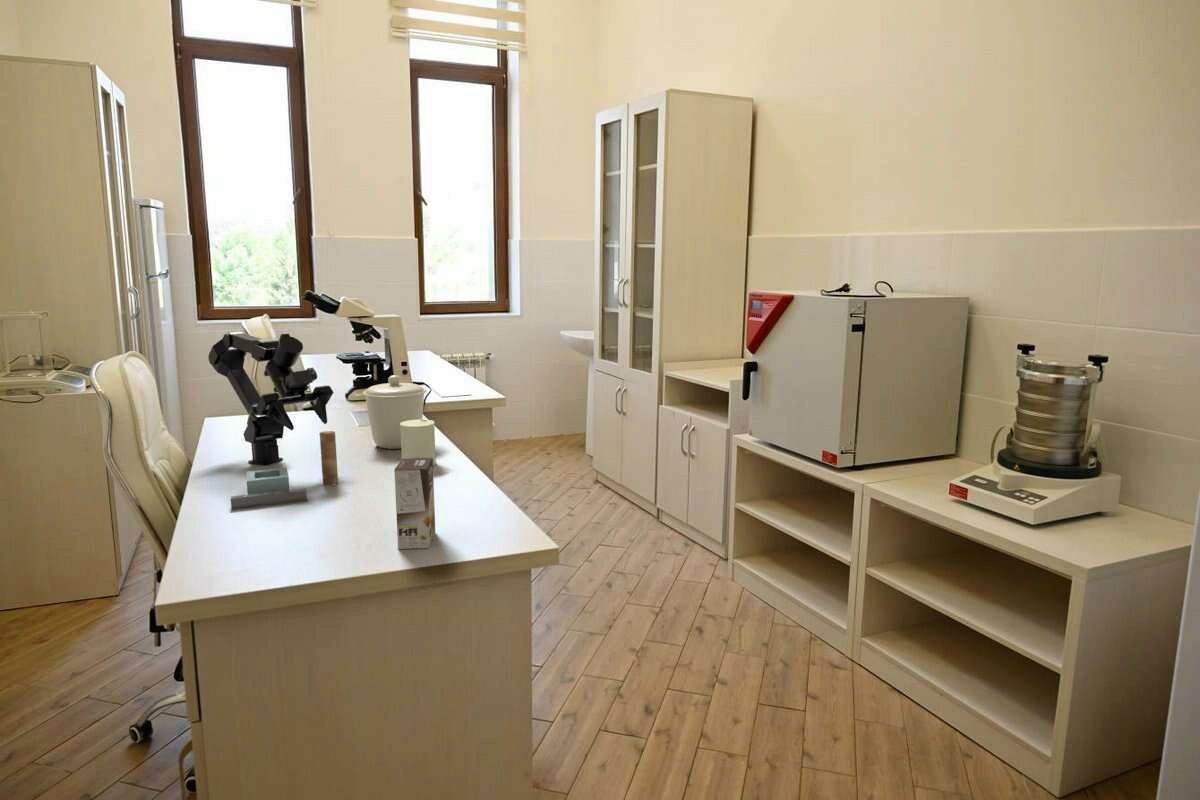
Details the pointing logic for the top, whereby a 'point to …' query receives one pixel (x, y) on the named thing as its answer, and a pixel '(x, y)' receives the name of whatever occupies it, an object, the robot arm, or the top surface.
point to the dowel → (328, 457)
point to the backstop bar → (268, 498)
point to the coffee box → (415, 503)
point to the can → (418, 439)
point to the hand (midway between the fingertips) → (309, 426)
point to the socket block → (267, 480)
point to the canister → (393, 409)
